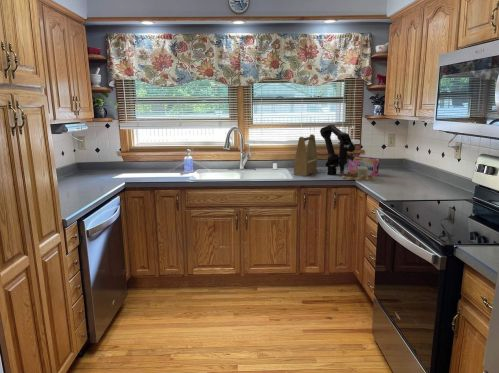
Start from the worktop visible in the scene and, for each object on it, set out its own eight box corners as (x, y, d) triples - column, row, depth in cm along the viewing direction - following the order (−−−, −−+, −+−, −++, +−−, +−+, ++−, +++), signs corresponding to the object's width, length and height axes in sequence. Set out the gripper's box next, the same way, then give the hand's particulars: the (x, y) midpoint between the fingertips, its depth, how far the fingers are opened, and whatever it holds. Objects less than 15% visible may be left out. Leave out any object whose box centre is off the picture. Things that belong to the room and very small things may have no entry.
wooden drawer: (339, 175, 281) (340, 164, 279) (339, 173, 289) (340, 163, 287) (357, 176, 278) (358, 165, 277) (357, 174, 286) (357, 164, 284)
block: (350, 174, 281) (350, 169, 280) (349, 174, 285) (350, 168, 284) (355, 175, 280) (355, 169, 280) (355, 174, 284) (355, 169, 283)
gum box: (380, 175, 294) (381, 158, 291) (375, 176, 289) (376, 159, 286) (352, 171, 311) (353, 155, 308) (347, 172, 305) (348, 156, 302)
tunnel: (357, 177, 277) (358, 168, 275) (356, 174, 288) (357, 166, 287) (367, 178, 275) (368, 169, 274) (366, 175, 287) (366, 166, 285)
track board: (342, 178, 279) (342, 176, 279) (341, 175, 291) (342, 174, 290) (373, 180, 275) (373, 178, 274) (371, 177, 286) (371, 175, 286)
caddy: (306, 176, 288) (308, 136, 282) (293, 174, 293) (294, 136, 287) (316, 170, 314) (318, 134, 308) (304, 169, 319) (306, 134, 312)
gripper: (355, 152, 270) (353, 173, 273) (353, 149, 288) (352, 169, 291) (339, 151, 272) (337, 172, 276) (338, 149, 290) (337, 168, 294)
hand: (341, 171), depth 284 cm, fingers open, 3 cm apart
